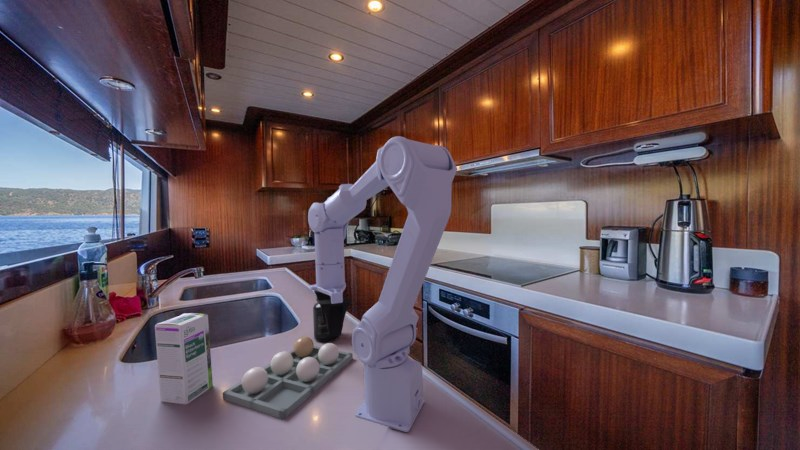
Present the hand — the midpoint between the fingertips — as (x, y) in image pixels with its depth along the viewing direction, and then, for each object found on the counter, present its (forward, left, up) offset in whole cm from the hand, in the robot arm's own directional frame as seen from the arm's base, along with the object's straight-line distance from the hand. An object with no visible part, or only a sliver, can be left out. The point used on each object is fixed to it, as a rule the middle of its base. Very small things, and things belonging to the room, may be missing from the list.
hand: (332, 328), depth 61 cm
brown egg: (+9, -2, -9) cm, 13 cm away
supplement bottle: (+12, -14, -10) cm, 21 cm away
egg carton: (+6, +4, -9) cm, 12 cm away
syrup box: (+21, +16, -10) cm, 28 cm away
